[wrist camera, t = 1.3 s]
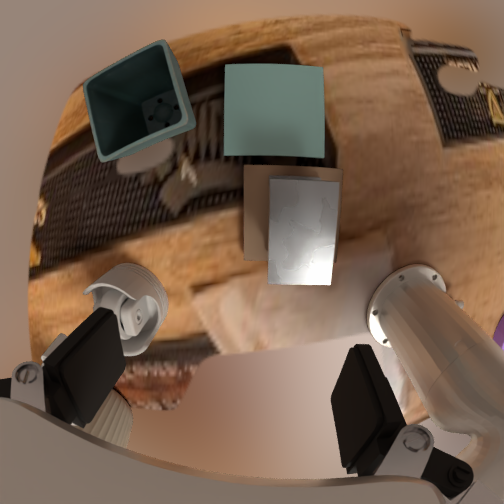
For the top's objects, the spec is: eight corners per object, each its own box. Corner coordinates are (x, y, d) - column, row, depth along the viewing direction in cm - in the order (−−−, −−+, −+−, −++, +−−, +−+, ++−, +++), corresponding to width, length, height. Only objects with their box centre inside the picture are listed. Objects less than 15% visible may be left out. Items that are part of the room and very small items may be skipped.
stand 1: (319, 73, 24) (323, 67, 22) (320, 158, 27) (324, 157, 25) (227, 70, 25) (225, 64, 23) (226, 155, 28) (223, 155, 26)
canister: (158, 432, 44) (130, 513, 24) (91, 416, 46) (55, 480, 26) (128, 372, 39) (75, 469, 19) (57, 357, 40) (1, 425, 20)
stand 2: (338, 168, 28) (342, 169, 26) (331, 256, 31) (336, 262, 29) (245, 164, 28) (244, 164, 26) (245, 254, 31) (243, 260, 29)
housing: (269, 175, 26) (270, 179, 19) (318, 177, 26) (339, 182, 18) (267, 251, 29) (267, 284, 21) (314, 253, 29) (330, 284, 21)
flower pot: (212, 134, 27) (189, 122, 19) (141, 162, 28) (99, 164, 20) (191, 67, 25) (164, 36, 16) (124, 97, 26) (81, 82, 17)
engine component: (163, 263, 32) (98, 261, 33) (64, 375, 13) (-9, 343, 13) (174, 337, 36) (114, 329, 36) (117, 459, 16) (41, 426, 17)
